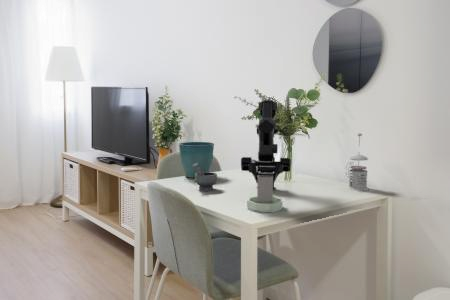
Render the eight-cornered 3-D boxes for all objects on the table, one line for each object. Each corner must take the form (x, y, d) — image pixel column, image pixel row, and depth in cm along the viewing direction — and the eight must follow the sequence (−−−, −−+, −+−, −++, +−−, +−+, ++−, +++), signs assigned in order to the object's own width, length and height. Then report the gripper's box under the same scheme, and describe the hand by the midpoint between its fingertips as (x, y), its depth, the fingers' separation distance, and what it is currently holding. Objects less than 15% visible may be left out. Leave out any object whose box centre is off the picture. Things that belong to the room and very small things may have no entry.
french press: (373, 189, 204) (376, 133, 200) (353, 191, 198) (356, 134, 195) (358, 185, 212) (360, 131, 209) (338, 187, 207) (340, 132, 204)
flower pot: (175, 174, 240) (175, 142, 237) (208, 172, 245) (208, 140, 243) (183, 180, 222) (182, 146, 220) (218, 178, 228) (218, 144, 226)
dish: (267, 201, 180) (267, 194, 180) (289, 209, 169) (289, 201, 169) (240, 206, 173) (240, 198, 172) (262, 214, 162) (262, 205, 162)
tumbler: (257, 199, 174) (258, 175, 173) (272, 200, 173) (272, 175, 172) (257, 202, 168) (257, 177, 167) (272, 203, 167) (273, 177, 167)
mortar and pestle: (211, 186, 209) (211, 160, 208) (220, 190, 201) (220, 163, 200) (188, 188, 204) (188, 162, 203) (197, 192, 196) (197, 165, 194)
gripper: (241, 136, 172) (239, 170, 163) (291, 136, 171) (291, 171, 161) (242, 153, 181) (240, 186, 172) (289, 154, 179) (290, 188, 170)
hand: (265, 182), depth 169 cm, fingers closed on tumbler, 6 cm apart
